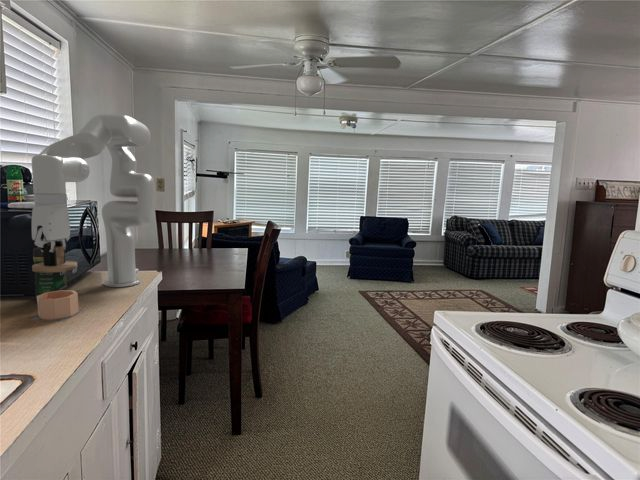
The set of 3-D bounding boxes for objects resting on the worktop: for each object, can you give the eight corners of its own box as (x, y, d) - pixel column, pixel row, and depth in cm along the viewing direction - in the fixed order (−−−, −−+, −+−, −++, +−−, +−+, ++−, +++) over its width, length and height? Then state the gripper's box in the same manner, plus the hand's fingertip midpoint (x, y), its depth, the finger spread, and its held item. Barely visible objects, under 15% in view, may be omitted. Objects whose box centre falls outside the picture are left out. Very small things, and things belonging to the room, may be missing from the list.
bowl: (53, 308, 122) (52, 289, 121) (84, 309, 121) (83, 290, 121) (31, 319, 112) (29, 299, 111) (64, 320, 112) (63, 300, 111)
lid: (49, 264, 120) (48, 243, 119) (85, 265, 120) (84, 244, 119) (22, 272, 109) (21, 249, 108) (61, 273, 109) (60, 251, 108)
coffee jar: (59, 303, 128) (55, 246, 125) (32, 304, 126) (27, 246, 124) (72, 294, 137) (68, 241, 135) (46, 295, 136) (42, 241, 133)
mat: (53, 309, 122) (53, 308, 122) (86, 310, 122) (86, 309, 122) (29, 321, 112) (29, 319, 112) (64, 322, 112) (64, 321, 112)
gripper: (56, 198, 120) (60, 258, 123) (14, 201, 104) (20, 270, 106) (81, 199, 120) (85, 259, 123) (43, 202, 104) (48, 271, 106)
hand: (54, 263), depth 114 cm, fingers closed on lid, 3 cm apart
